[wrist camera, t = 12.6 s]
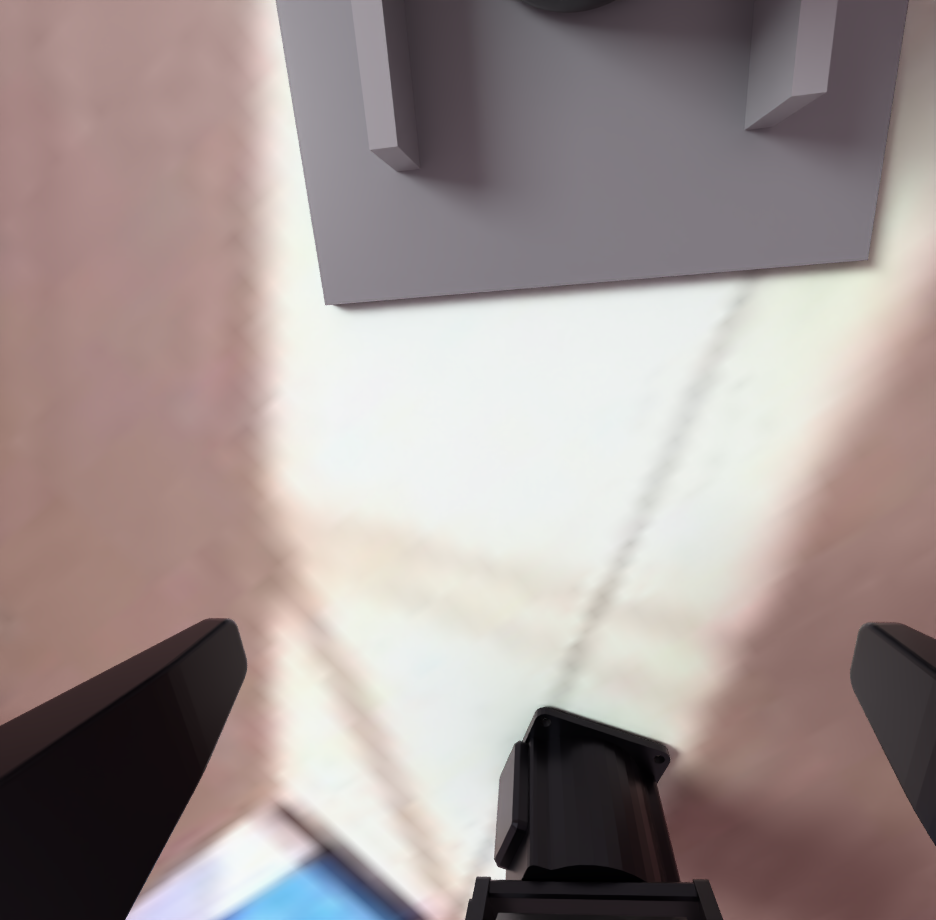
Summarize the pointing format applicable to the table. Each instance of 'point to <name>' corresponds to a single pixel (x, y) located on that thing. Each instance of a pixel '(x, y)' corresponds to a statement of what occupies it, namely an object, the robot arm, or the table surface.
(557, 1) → the supplement bottle
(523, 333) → the table surface
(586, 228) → the bottle holder
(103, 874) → the robot arm
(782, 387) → the table surface
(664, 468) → the table surface
